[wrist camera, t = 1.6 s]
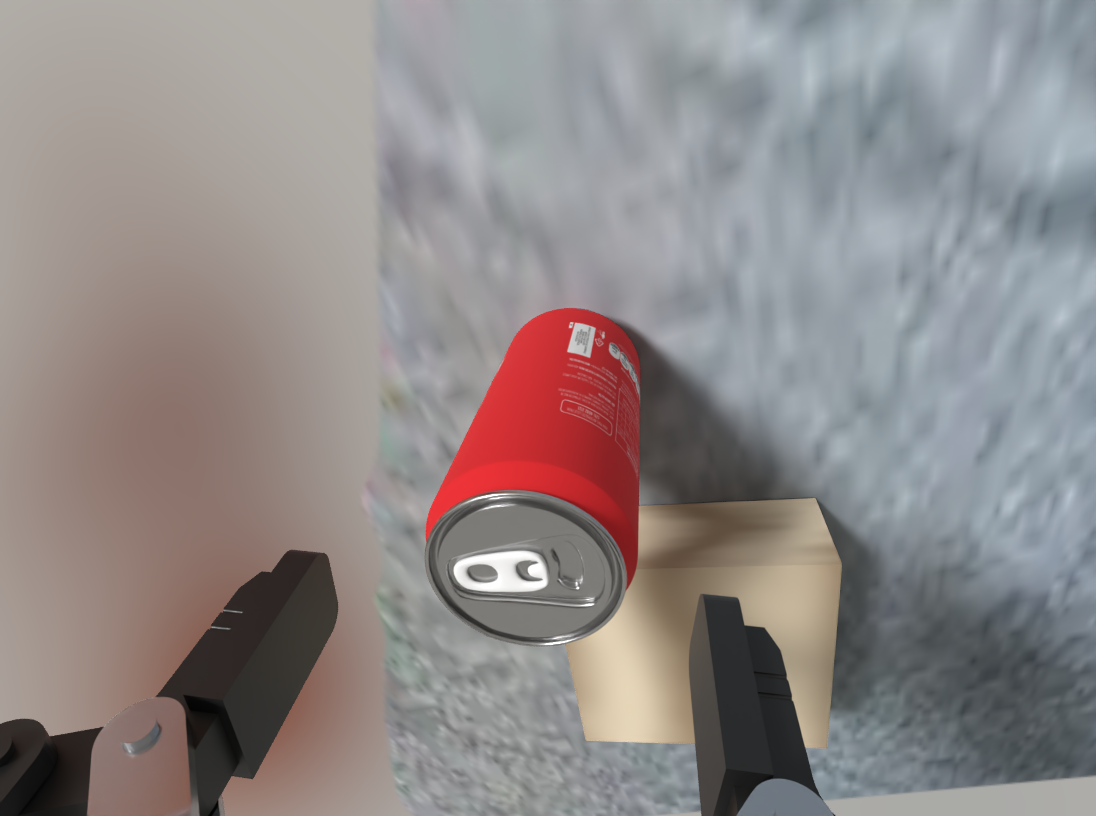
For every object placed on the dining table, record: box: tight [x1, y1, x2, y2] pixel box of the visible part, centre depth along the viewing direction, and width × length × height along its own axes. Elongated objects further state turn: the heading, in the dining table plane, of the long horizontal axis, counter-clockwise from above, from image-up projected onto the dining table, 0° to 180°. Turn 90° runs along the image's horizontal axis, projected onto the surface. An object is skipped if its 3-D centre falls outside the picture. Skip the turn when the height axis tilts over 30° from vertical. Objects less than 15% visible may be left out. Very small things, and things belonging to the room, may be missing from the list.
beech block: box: [566, 498, 842, 748], centre depth 28 cm, size 11×11×4 cm
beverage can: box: [425, 308, 640, 646], centre depth 19 cm, size 5×5×12 cm
